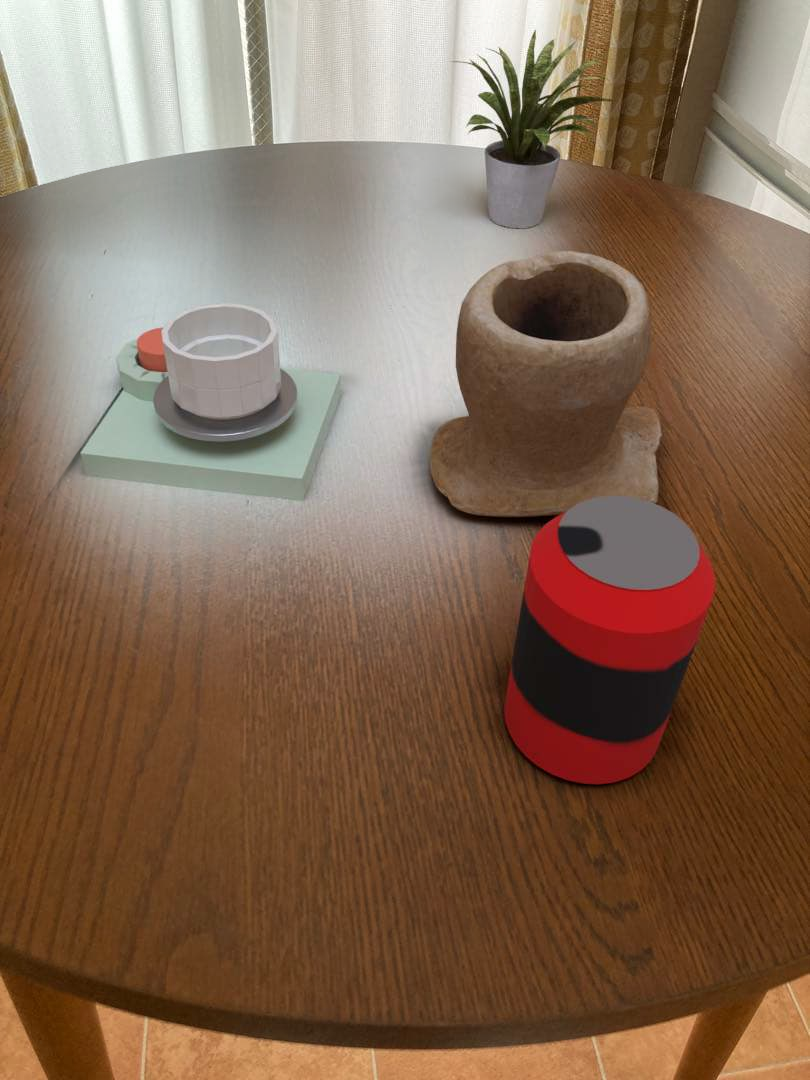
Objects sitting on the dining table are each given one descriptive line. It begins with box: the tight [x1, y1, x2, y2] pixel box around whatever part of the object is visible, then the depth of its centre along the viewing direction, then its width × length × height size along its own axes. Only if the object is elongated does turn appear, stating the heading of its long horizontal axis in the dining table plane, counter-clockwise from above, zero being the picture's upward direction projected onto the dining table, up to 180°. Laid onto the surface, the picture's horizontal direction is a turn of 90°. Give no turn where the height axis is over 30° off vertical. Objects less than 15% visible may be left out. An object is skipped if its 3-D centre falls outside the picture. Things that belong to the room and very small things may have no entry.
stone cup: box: [428, 250, 663, 518], centre depth 53 cm, size 15×12×15 cm
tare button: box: [137, 326, 167, 372], centre depth 62 cm, size 4×4×2 cm
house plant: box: [448, 27, 618, 229], centre depth 84 cm, size 14×14×16 cm
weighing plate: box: [153, 367, 297, 441], centre depth 58 cm, size 9×9×1 cm
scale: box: [80, 338, 342, 502], centre depth 61 cm, size 15×13×4 cm
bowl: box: [161, 302, 281, 420], centre depth 57 cm, size 7×7×4 cm
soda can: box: [503, 496, 716, 785], centre depth 41 cm, size 8×8×12 cm
